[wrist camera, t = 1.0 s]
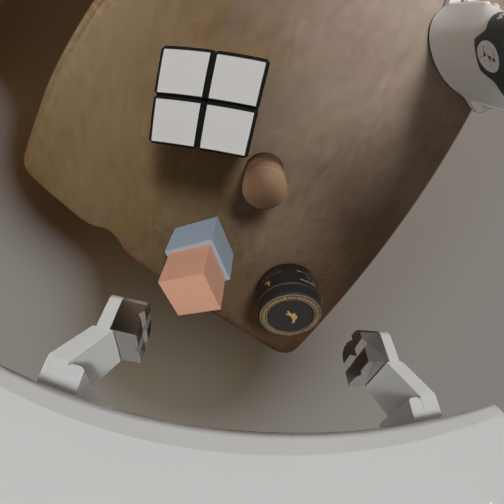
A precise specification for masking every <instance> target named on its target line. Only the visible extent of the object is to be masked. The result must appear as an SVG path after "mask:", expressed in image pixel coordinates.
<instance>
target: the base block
mask: <svg viewBox="0 0 504 504" xmlns="http://www.w3.org/2000/svg"><path fill="white" fill-rule="evenodd" d="M207 244H211V246H212V248H213V250H214V253H215V255H216V258H217V260H218V262H219V265H220V267H221V269H222V271H223V274H224V276H225V280H229V279H230V277H231V269H232V261H233V252H232V250H231V247H230V245H229V243H228V240H227V238H226V235H225V233H224V231H223V228H222V226H221V223H220V221H219V219H218V217H214V218H211V219H207V220H203V221H200V222H196V223H193V224H189V225H186V226H182V227H179V228H175V230H174V232H173V234H172V236H171V239H170V241H169V243H168V245H167V248H166V250H165V253H166V255H167V256H169V254H170V253H172V252H176V251H180V250H185V249H189V248H193V247H198V246H202V245H207Z"/></svg>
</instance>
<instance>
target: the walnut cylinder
mask: <svg viewBox="0 0 504 504" xmlns="http://www.w3.org/2000/svg"><path fill="white" fill-rule="evenodd" d="M287 189H288V188H287V182H286V177H285V172H284V167H283V164H282V162H281V161H280V159H279V158H278V157H276V156H275V155H273V154H270V153H258V154H256V155H254V156H252V157H251V158H250V159H249V160H248V161H247V163H246V165H245V171H244V177H243V184H242V193H243V196H244V198H245V199H246V201H247V202H248V203H249V204H250V205H252V206H254V207H256V208H259V209H270V208H274V207H276V206H278V205H279V204H280V203H282V201H283V200H284V199H285V197H286V195H287Z"/></svg>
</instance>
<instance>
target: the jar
mask: <svg viewBox="0 0 504 504" xmlns="http://www.w3.org/2000/svg"><path fill="white" fill-rule="evenodd" d="M257 308H258V318H259V321H260V323H261V325H262V326H263V327H264V328H265V329H266V330H268V331H270V332H272V333H274V334H278V335H285V336H290V335H297V334H301V333H304V332H306V331H308V330H310V329H312V328H313V327H314V326H316V324H317V323H318V322H319V321H320V319H321V316H322V300H321V297H320V295H319V290H318V285H317V282H316V280H315V278H314V276H313V275H312V274H311V272H310V271H309V270H308V269H306V268H305V267H303V266H300V265H296V264H282V265H278V266H276V267H273V268H272V269H270V270H269V271H267V272H266V273H265V275H264V276H263V278H262V280H261V282H260V285H259V289H258V306H257Z"/></svg>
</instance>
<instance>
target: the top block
mask: <svg viewBox="0 0 504 504" xmlns="http://www.w3.org/2000/svg"><path fill="white" fill-rule="evenodd" d="M158 283H159V285H160V286H161V288H162V290H163V291H164V293H165V295H166V296H167V298H168V299H169V301H170V303H171V304H172V306H173V308H174V309H175V311H176V312H177V314H178V315H185V314H192V313H199V312H206V311H212V310H219V309H221V304H222V297H223V290H224V283H225V276H224V274H223V271H222V269H221V267H220V265H219V262H218V260H217V258H216V255H215V253H214V250H213V248H212V246H211V244H207V245H202V246H198V247H193V248H189V249H185V250H180V251H176V252H172V253H170V254H169V256H168V259H167V261H166V264H165V266H164V269H163V271H162V274H161V276H160V279H159V281H158Z"/></svg>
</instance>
